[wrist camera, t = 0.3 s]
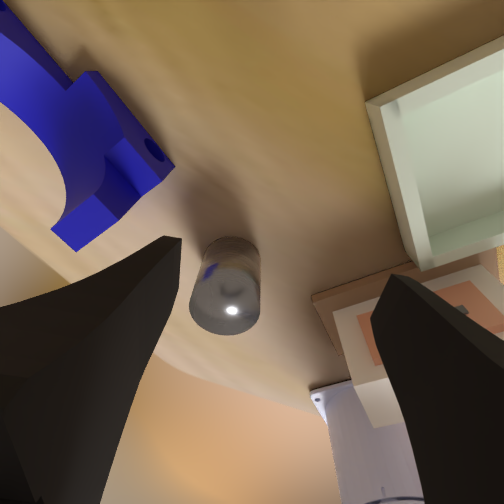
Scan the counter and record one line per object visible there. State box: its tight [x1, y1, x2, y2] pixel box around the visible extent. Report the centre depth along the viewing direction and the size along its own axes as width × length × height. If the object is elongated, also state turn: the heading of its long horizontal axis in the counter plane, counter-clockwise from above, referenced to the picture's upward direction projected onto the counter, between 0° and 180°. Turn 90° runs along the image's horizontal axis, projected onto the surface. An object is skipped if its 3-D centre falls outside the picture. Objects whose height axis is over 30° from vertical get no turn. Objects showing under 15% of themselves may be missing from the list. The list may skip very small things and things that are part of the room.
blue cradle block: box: [0, 0, 175, 252], centre depth 14 cm, size 12×4×6 cm, turn 35°
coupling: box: [189, 237, 261, 335], centre depth 20 cm, size 4×4×5 cm
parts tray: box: [365, 35, 504, 272], centre depth 16 cm, size 10×10×2 cm
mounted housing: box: [311, 247, 504, 428], centre depth 20 cm, size 6×12×7 cm, turn 116°
